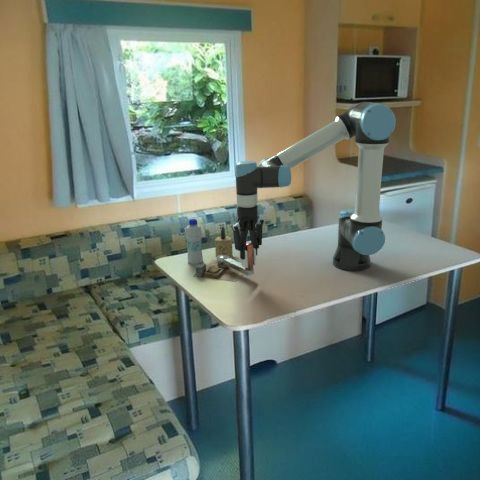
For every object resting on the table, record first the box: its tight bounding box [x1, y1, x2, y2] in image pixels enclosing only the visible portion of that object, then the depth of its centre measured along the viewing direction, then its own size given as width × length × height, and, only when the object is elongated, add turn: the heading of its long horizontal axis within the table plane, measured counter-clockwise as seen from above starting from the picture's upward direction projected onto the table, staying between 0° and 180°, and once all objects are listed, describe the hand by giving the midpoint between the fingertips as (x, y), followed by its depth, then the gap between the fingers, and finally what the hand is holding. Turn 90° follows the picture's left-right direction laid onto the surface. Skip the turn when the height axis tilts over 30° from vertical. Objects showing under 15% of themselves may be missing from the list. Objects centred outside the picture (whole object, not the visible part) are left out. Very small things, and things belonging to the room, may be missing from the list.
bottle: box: [185, 218, 204, 265], centre depth 202 cm, size 7×7×20 cm
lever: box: [216, 242, 255, 277], centre depth 189 cm, size 21×5×12 cm, turn 37°
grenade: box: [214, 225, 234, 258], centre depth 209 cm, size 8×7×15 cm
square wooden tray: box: [192, 258, 244, 283], centre depth 195 cm, size 18×19×6 cm
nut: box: [209, 264, 219, 273], centre depth 191 cm, size 4×4×4 cm
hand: (249, 265), depth 183 cm, fingers closed on lever, 3 cm apart
